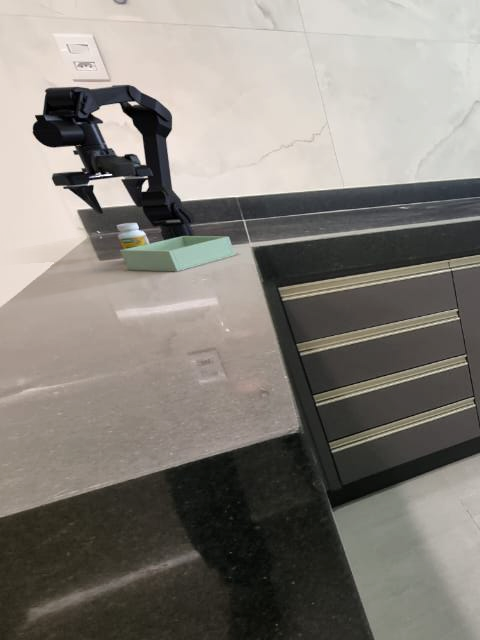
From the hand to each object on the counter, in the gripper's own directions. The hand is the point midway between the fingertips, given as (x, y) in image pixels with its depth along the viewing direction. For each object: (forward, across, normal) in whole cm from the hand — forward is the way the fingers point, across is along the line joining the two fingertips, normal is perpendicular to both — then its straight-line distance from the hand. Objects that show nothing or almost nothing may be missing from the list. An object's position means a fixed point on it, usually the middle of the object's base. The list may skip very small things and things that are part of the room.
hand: (120, 210), depth 135 cm
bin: (+13, -2, -16) cm, 21 cm away
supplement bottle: (+13, -2, -2) cm, 13 cm away
